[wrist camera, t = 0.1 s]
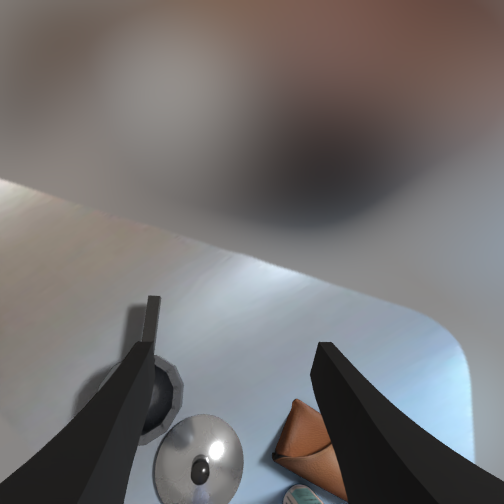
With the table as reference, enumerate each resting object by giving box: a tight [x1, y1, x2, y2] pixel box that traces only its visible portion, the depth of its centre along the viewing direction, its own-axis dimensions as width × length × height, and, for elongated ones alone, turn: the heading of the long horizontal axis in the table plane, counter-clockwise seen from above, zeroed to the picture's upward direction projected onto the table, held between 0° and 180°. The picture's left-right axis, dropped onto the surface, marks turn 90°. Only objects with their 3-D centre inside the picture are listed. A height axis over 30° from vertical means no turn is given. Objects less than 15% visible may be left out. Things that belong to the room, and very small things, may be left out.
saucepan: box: [98, 296, 184, 446], centre depth 39 cm, size 18×10×4 cm, turn 0°
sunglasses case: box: [272, 399, 348, 502], centre depth 39 cm, size 18×7×7 cm, turn 65°
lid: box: [155, 414, 244, 504], centre depth 35 cm, size 11×11×4 cm
